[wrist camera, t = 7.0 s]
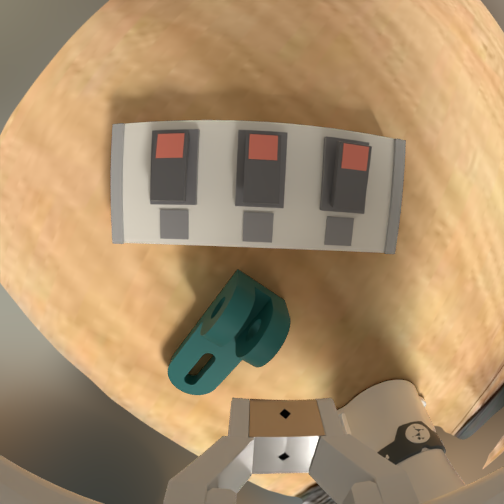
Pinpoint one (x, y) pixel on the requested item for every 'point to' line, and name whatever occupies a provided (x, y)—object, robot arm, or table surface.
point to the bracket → (231, 335)
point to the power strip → (232, 186)
